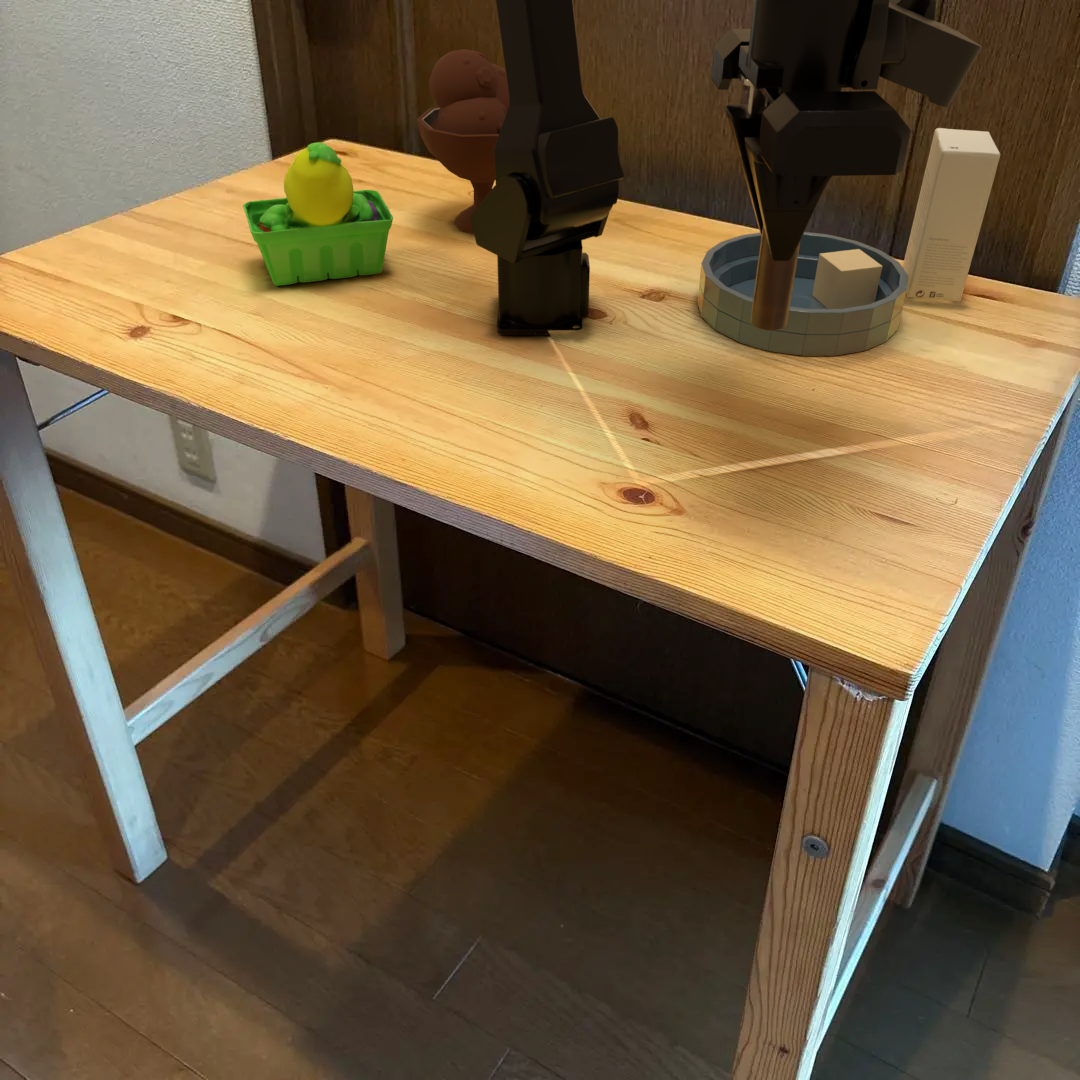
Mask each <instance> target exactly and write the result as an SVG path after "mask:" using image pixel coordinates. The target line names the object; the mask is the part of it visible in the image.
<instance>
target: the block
mask: <svg viewBox="0 0 1080 1080" xmlns="http://www.w3.org/2000/svg"><path fill="white" fill-rule="evenodd" d="M881 271H882V265H880V264H879V263H878V262H876V261H875V260H874V259H872V258H871V257H870V256H868V255H867V254H865V253H864V252H863V251H861V250H860V249H855V250H846V251H838V252H829V253H821V254H819V259H818V265H817V271H816V277H815V282H814V288H813V294H812V296H814V297H815V298H816V299H817V300H818V301H819V302H821V303H822V304H823V305H824V306H825V307H826V308H828V309H844V308H851V307H857V306H863V305H869V304H871V303H874V302H875V299H876V294H877V290H878V285H879V280H880V276H881Z"/></svg>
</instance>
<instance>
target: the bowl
mask: <svg viewBox="0 0 1080 1080" xmlns="http://www.w3.org/2000/svg"><path fill="white" fill-rule="evenodd" d="M760 245H761V234H760V232H754V233H745V234H741V235H738V236H734V237H731V238H728V239H725V240H722V241H720V242H718V243H716V244H715V245H714V246H713V247H711V248H709V249H708V250H707V251H706V252H705V254H704V257H703V259H702V261H701V262H700V263H701V265H700V274H699V283H698V291H697V292H698V293H697V302H696V303H697V306H698V311H699V313H700V316H701V318H702V319H703V320H704V321H705V323H707V324H708V325H709V326H710V327H711V328H712V329H713V330H714V331H716V332H718V333H720V334H721V335H724V336H725V337H727V338H729V339H731V340H733V341H736V342H738V343H739V344H743V345H746V346H750V347H753V348H756V349H759V350H763V351H766V352H772V353H779V354H786V355H794V356H799V357H800V356H801V357H834V356H836V357H837V356H842V355H847V354H855V353H861V352H865V351H867V350H871V349H872V348H875V347H877V346H880V345H881V344H884V343H886V342H887V341H888V340H889V339H890V338H891V337H892V336H893V335H894V334H895V333H896V332H897V331H898V329H899V326H900V321H901V318H902V314H903V309H904V305H905V300H906V297H907V294H906V292H907V286H908V274H907V273H906V271H905V270H904V269H903V265H901V263H900V262H899V261H898V260H897V259H896V258H893V257H892V256H891V255H889V254H888V253H886V252H884V251H883V250H880V249H878V248H876V247H874V246H870V245H868V244H865V243H863V242H860V241H857V240H853V239H849V238H845V237H841V236H836V235H832V234H826V233H819V232H818V233H817V232H809V231H805V232H804V234H803V236H802V238H801V240H800V247H799V253H798V259H797V266H796V272H795V278H794V285H793V291H792V297H791V304H790V310H789V316H788V323H787V326H786V327H785V328H783V329H780V330H774V331H770V330H762V329H759V328H757V327H755V326H753V325H752V324H751V321H750V319H751V312H752V304H753V297H754V290H755V282H756V275H757V267H758V260H759V252H760ZM855 249H860V250H861V251H863V252H864V253H865V254H867V255H868V256H870V257H871V258H872V259H874V260H875V261H876V262H878V263H879V264H880V265H882V271H881V276H880V280H879V285H878V290H877V294H876V299H875V302H874V303H871V304H869V305H863V306H857V307H851V308H844V309H828V308H826V307H825V306H824V305H823V304H822V303H821V302H819V301H818V300H817V299H816V298H815V297H814V296H812V294H813V288H814V282H815V277H816V271H817V265H818V259H819V254H821V253H829V252H838V251H846V250H855Z"/></svg>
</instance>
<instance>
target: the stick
mask: <svg viewBox="0 0 1080 1080" xmlns="http://www.w3.org/2000/svg"><path fill="white" fill-rule="evenodd" d="M799 247H800V242H799V245H798V247H797V249H796V251H795V253H794V255H793V257H792V259H791V260H789V261H774V260H773V259H772V257H771V254H770V250H769V246H768V242H767V238H766V234H765V229H764V225H763V230H762V238H761V245H760V252H759V260H758V267H757V275H756V282H755V290H754V297H753V304H752V312H751V319H750V321H751V324H752V325H753V326H755V327H757V328H759V329H762V330H770V331H774V330H780V329H783V328H785V327H786V326H787V323H788V316H789V310H790V304H791V297H792V291H793V285H794V278H795V272H796V266H797V259H798V253H799Z"/></svg>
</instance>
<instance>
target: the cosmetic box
mask: <svg viewBox="0 0 1080 1080" xmlns="http://www.w3.org/2000/svg"><path fill="white" fill-rule="evenodd" d="M1000 158H1001V153H1000V151H999V149H998V147H997V145H996V143H995V141H994V139H993V138H992V136H991V133H990V131H984V130H969V129H956V128H955V129H954V128H945V127H943V128H942V127H936V129H934V132H933V136H932V141H931V144H930V150H929V153H928V158H927V162H926V166H925V170H924V173H923V178H922V183H921V186H920V187H921V188H920V191H919V195H918V199H917V204H916V209H915V214H914V217H913V221H912V226H911V230H910V234H909V239H908V243H907V247H906V251H905V254H904V259H903V263H902V267H903V269H904V270H905V271H906V273H907V274H908V286H907V292H906V297H908V298H916V299H925V300H926V299H927V300H936V301H937V300H938V301H952V302H961V301H962V297H963V294H964V291H965V286H966V282H967V279H968V275H969V271H970V268H971V264H972V260H973V257H974V254H975V249H976V246H977V242H978V239H979V234H980V232H981V228H982V224H983V220H984V217H985V213H986V210H987V206H988V202H989V198H990V194H991V191H992V187H993V185H994V180H995V177H996V173H997V170H998V165H999V161H1000Z"/></svg>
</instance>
